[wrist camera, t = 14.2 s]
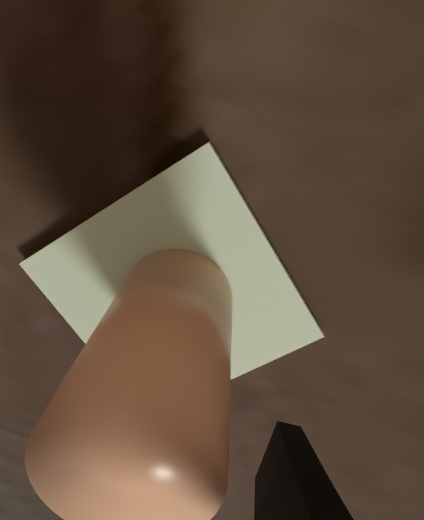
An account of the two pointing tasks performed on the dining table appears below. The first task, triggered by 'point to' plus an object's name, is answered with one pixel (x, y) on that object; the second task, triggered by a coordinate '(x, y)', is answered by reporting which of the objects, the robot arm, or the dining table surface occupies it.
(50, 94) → the dining table surface
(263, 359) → the mat
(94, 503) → the plug
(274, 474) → the robot arm
